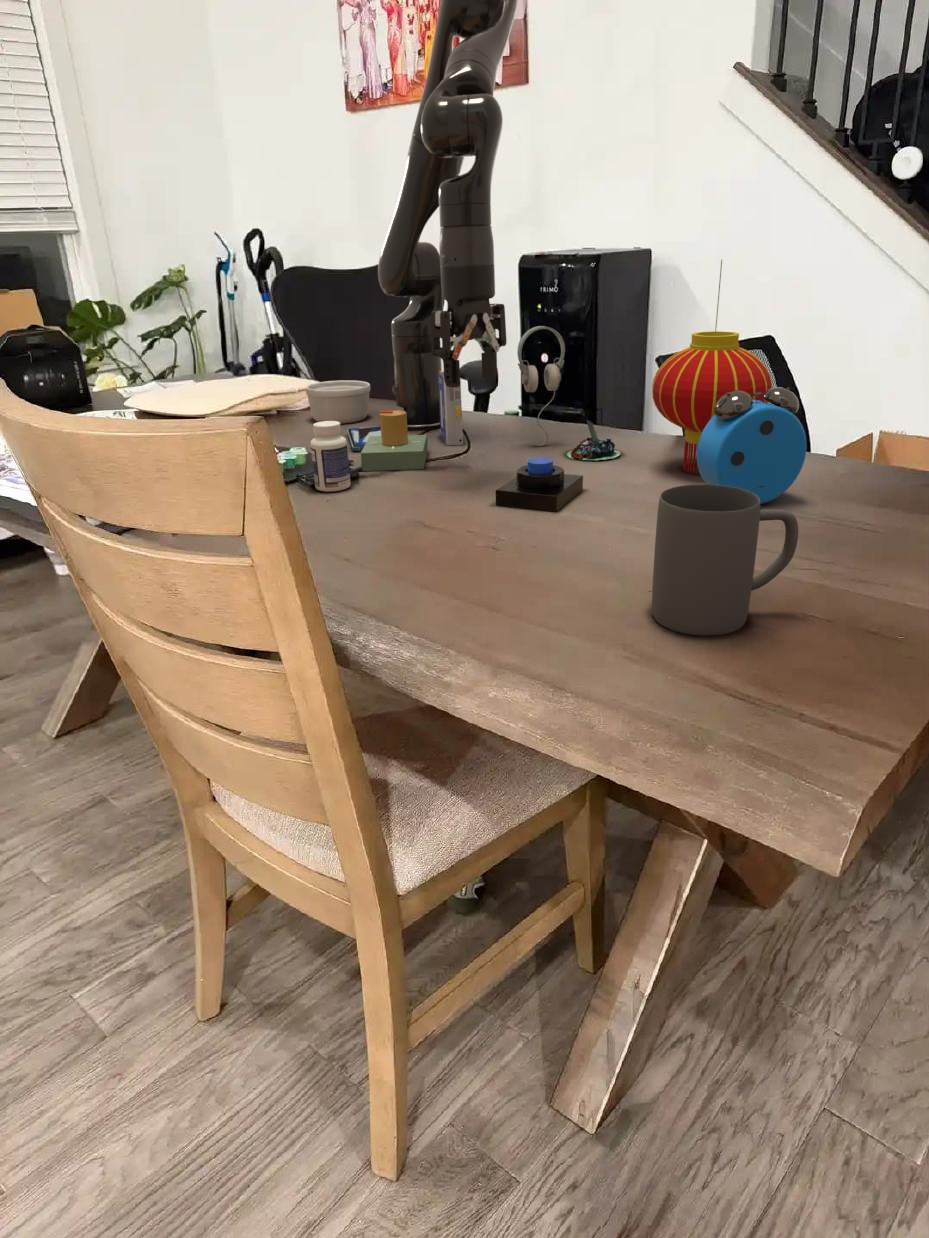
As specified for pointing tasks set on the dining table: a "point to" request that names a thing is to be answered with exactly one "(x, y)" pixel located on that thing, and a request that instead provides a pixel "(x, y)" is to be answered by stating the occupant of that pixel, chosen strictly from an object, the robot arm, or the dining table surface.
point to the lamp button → (540, 466)
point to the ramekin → (339, 400)
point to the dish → (594, 448)
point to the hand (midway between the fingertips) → (471, 382)
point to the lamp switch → (539, 490)
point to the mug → (711, 557)
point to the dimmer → (394, 454)
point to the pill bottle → (330, 457)
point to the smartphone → (362, 436)
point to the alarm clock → (753, 443)
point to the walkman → (450, 412)
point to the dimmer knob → (393, 428)
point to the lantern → (705, 382)
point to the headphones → (550, 373)
